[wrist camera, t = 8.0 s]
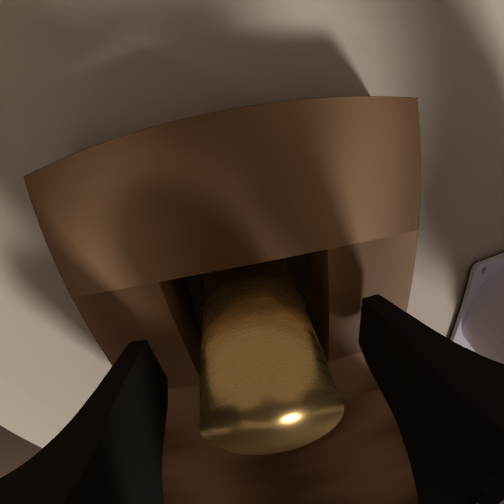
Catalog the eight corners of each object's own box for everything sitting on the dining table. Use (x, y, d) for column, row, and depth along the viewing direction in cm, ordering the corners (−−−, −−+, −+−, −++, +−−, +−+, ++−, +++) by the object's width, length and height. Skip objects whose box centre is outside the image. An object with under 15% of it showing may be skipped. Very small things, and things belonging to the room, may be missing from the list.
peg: (288, 235, 12) (355, 372, 5) (289, 306, 13) (333, 441, 7) (198, 246, 11) (182, 397, 5) (211, 316, 13) (214, 459, 7)
